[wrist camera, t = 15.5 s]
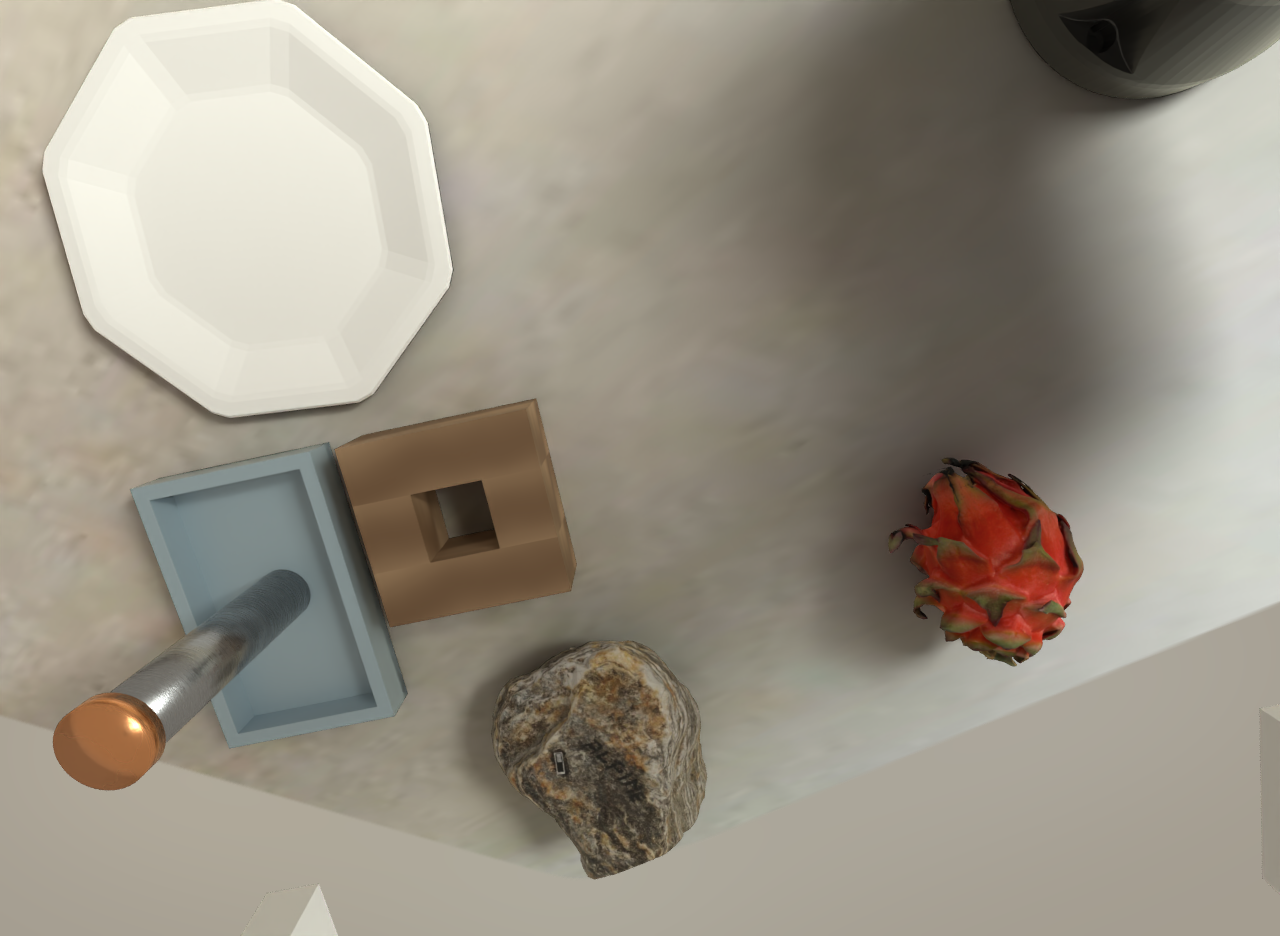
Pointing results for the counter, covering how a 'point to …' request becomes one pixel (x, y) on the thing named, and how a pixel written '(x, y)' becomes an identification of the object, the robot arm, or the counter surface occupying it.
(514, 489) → the block
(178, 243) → the plate
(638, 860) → the stone
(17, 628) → the counter surface
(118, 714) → the lock pin
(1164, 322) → the counter surface
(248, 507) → the tray
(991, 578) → the dragon fruit
